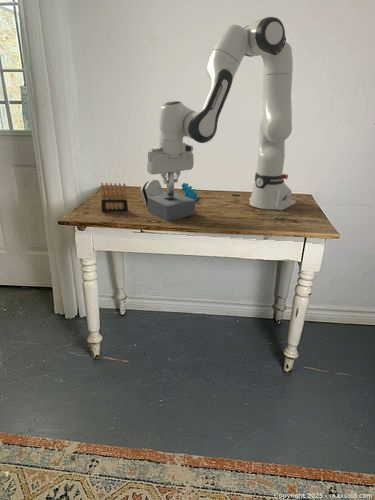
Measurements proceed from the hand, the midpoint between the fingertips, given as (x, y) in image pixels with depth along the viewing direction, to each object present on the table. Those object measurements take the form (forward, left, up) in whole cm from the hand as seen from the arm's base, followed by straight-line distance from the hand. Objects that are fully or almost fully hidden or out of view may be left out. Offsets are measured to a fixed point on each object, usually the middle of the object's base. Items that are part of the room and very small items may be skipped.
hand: (170, 182), depth 138 cm
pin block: (0, 0, -13) cm, 13 cm away
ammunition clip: (+18, -15, -13) cm, 27 cm away
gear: (-19, -11, -13) cm, 25 cm away
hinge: (-4, -19, -13) cm, 24 cm away
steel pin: (0, 0, -5) cm, 5 cm away
